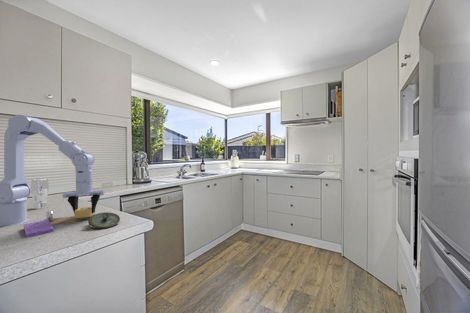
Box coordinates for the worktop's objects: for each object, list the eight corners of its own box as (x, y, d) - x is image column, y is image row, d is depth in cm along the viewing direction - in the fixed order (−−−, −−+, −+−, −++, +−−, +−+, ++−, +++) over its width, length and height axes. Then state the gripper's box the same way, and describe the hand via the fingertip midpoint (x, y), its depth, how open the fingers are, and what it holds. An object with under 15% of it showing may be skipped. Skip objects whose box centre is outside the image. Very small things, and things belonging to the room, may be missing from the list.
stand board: (32, 228, 80) (31, 215, 80) (45, 220, 89) (45, 209, 89) (91, 221, 86) (91, 210, 86) (97, 215, 96) (97, 205, 96)
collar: (74, 218, 86) (74, 210, 86) (79, 214, 91) (79, 207, 91) (90, 216, 88) (90, 209, 88) (94, 213, 93) (94, 206, 93)
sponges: (48, 223, 82) (48, 219, 82) (54, 232, 74) (53, 227, 74) (23, 229, 77) (23, 224, 77) (26, 239, 69) (25, 233, 69)
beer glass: (28, 208, 111) (28, 180, 111) (45, 205, 117) (44, 178, 117) (34, 210, 107) (34, 180, 107) (51, 207, 114) (50, 179, 114)
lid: (114, 219, 89) (114, 207, 89) (124, 224, 83) (124, 211, 83) (84, 226, 81) (84, 213, 81) (93, 232, 74) (93, 218, 74)
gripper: (59, 183, 83) (59, 217, 83) (101, 181, 88) (102, 213, 88) (66, 181, 90) (67, 213, 90) (105, 179, 95) (106, 209, 95)
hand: (84, 213), depth 90 cm, fingers closed on collar, 5 cm apart
